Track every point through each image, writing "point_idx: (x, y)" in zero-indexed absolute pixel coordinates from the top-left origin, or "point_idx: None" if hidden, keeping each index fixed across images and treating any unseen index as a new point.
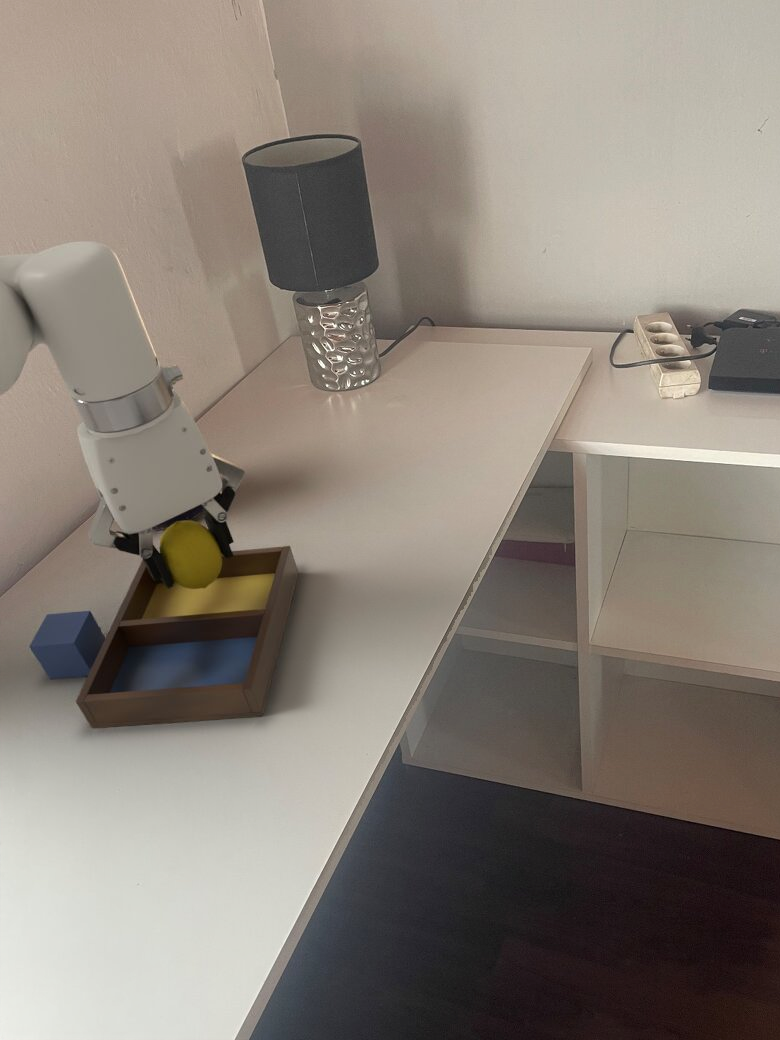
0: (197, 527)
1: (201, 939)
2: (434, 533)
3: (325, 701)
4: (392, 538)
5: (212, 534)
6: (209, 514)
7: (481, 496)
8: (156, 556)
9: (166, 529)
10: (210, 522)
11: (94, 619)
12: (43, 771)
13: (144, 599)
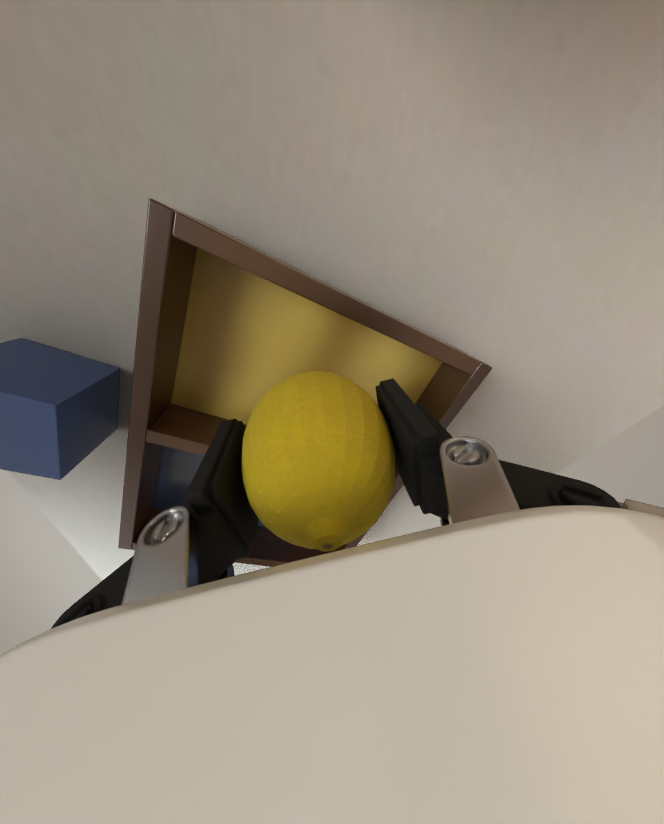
0: (377, 516)
1: None
2: (642, 362)
3: (384, 535)
4: (603, 341)
5: (392, 431)
6: (436, 501)
7: None
8: (241, 556)
9: (278, 501)
10: (417, 483)
11: (75, 397)
12: (102, 533)
13: (178, 319)
